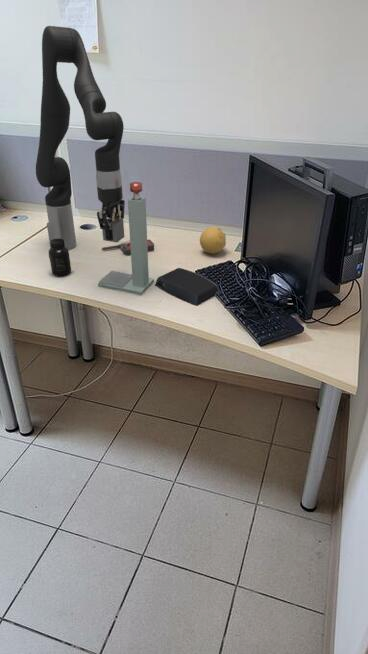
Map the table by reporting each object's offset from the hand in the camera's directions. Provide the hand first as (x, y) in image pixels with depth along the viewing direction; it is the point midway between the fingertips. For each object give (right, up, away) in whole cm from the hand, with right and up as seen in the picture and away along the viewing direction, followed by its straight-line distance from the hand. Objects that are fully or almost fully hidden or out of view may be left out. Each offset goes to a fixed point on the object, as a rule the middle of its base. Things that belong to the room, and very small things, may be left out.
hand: (113, 236), depth 153 cm
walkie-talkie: (+2, 0, +31) cm, 31 cm away
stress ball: (+34, -1, +30) cm, 45 cm away
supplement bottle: (-20, -10, +15) cm, 27 cm away
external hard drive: (+24, -17, +6) cm, 30 cm away
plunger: (+8, +7, -9) cm, 14 cm away
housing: (0, -1, 0) cm, 1 cm away
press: (+2, -14, +8) cm, 17 cm away
